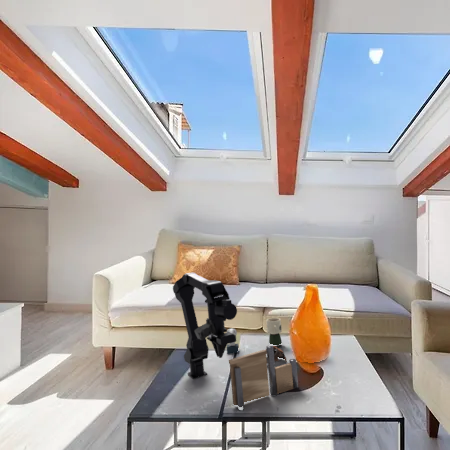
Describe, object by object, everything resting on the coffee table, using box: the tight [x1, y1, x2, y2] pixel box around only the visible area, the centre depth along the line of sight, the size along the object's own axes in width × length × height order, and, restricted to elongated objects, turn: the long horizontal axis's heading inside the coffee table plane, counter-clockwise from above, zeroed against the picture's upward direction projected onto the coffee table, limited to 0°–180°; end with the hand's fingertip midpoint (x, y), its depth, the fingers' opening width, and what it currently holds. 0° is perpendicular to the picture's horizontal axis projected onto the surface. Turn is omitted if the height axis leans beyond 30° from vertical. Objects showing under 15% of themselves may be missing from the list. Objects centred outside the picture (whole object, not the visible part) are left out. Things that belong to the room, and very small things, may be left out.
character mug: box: [265, 317, 283, 345], centre depth 187 cm, size 11×7×13 cm, turn 0°
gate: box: [228, 349, 270, 405], centre depth 131 cm, size 2×14×16 cm, turn 120°
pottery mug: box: [265, 346, 288, 365], centre depth 166 cm, size 12×10×8 cm
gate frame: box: [234, 345, 299, 407], centre depth 133 cm, size 4×26×17 cm, turn 117°
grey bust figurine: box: [226, 328, 240, 355], centre depth 184 cm, size 6×8×11 cm
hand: (219, 357), depth 143 cm, fingers closed
